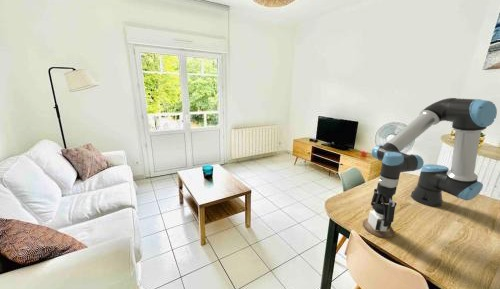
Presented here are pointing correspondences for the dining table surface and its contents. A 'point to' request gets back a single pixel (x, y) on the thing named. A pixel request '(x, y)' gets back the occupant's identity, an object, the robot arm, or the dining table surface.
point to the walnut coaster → (377, 233)
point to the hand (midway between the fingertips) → (378, 225)
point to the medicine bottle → (377, 217)
